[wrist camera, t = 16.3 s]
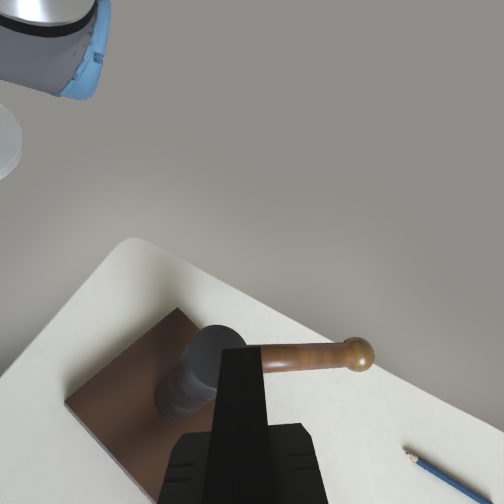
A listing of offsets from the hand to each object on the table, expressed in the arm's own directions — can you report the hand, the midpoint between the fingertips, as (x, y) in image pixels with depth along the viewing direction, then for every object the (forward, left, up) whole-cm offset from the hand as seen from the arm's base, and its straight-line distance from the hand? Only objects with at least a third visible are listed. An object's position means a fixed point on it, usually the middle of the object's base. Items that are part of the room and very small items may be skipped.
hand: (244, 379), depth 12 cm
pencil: (+39, +6, -23) cm, 46 cm away
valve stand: (+1, +5, -23) cm, 24 cm away
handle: (+8, +8, -12) cm, 16 cm away
